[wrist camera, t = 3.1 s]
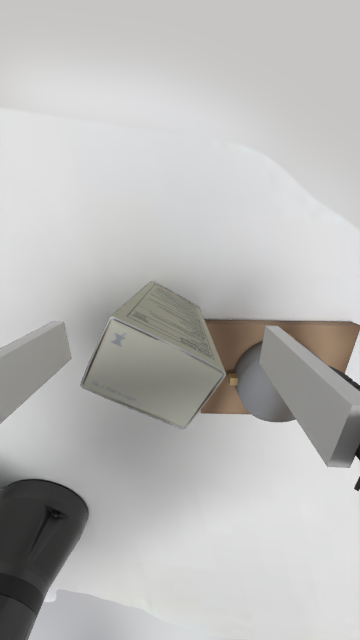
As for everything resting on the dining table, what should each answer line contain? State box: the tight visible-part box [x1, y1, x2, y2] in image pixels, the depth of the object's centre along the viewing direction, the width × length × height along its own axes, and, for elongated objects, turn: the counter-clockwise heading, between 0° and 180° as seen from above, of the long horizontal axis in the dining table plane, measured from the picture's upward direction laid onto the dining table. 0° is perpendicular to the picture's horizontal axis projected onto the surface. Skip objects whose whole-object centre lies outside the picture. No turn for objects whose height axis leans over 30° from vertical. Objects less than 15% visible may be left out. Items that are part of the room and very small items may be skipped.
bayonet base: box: [201, 320, 360, 422], centre depth 21 cm, size 16×12×4 cm
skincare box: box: [81, 281, 226, 429], centre depth 15 cm, size 6×4×12 cm
